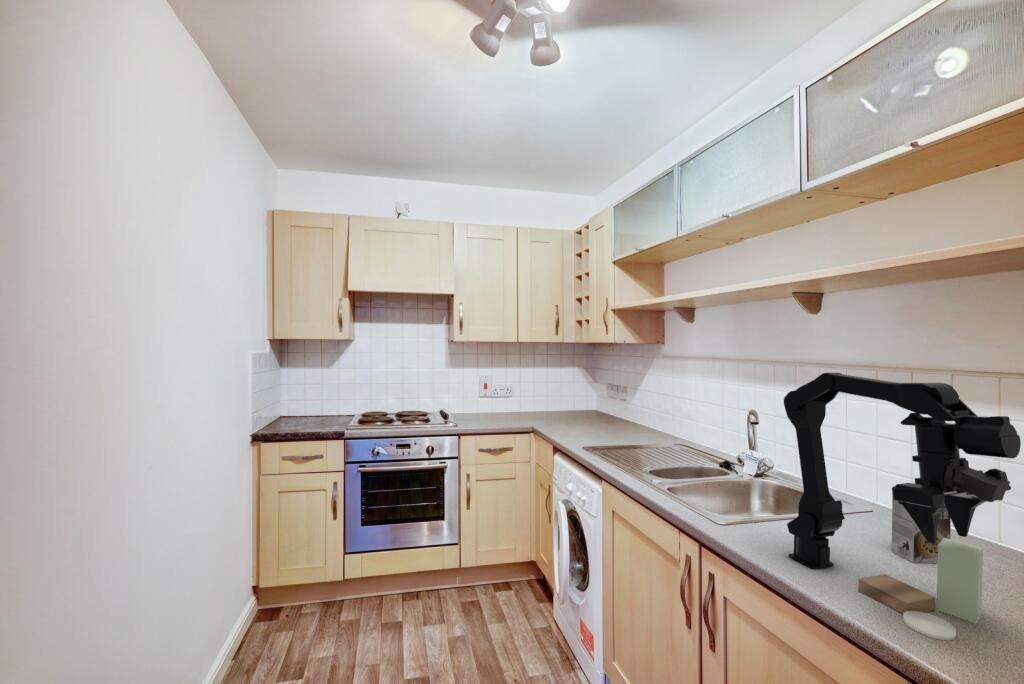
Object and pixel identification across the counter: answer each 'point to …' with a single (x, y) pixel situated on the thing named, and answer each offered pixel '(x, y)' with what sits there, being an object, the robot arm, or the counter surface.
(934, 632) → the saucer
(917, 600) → the podium
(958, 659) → the counter surface
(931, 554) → the coffee box
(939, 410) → the robot arm
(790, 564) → the counter surface
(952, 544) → the carton
